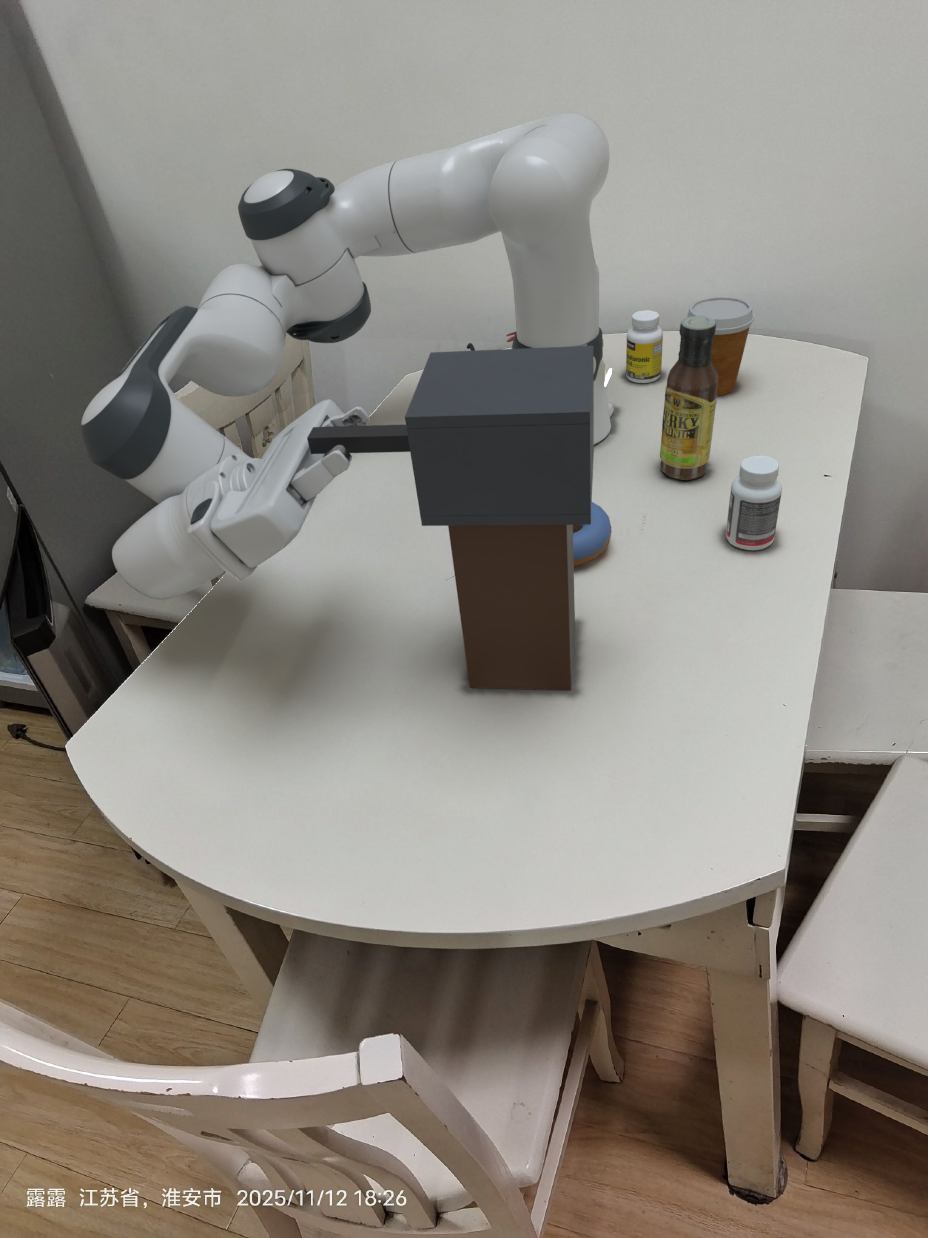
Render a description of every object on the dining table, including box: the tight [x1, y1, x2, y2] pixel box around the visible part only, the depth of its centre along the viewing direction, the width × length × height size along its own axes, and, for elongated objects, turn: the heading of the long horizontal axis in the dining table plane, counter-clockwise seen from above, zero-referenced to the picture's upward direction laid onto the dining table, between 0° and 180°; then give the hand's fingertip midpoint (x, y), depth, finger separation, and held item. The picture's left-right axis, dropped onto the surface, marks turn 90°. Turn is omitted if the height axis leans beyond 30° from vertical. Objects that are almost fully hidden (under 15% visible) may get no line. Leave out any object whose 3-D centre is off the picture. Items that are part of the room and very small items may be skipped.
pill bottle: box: [725, 455, 783, 551], centre depth 96 cm, size 5×5×10 cm
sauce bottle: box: [659, 316, 718, 481], centre depth 105 cm, size 6×6×20 cm
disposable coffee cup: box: [684, 296, 755, 397], centre depth 125 cm, size 10×10×12 cm
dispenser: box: [404, 346, 595, 691], centre depth 78 cm, size 14×12×30 cm
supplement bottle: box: [625, 309, 664, 384], centre depth 131 cm, size 5×5×10 cm
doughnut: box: [573, 501, 612, 567], centre depth 100 cm, size 10×10×5 cm
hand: (355, 434), depth 74 cm, fingers open, 5 cm apart
